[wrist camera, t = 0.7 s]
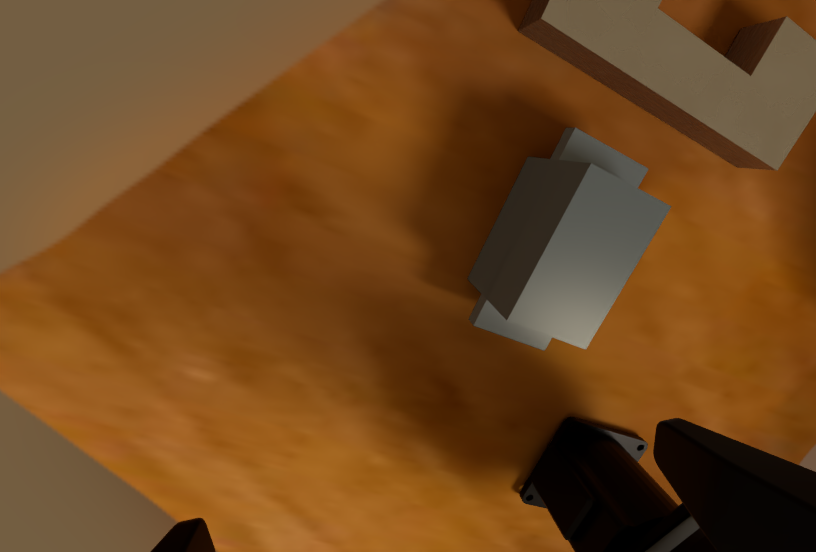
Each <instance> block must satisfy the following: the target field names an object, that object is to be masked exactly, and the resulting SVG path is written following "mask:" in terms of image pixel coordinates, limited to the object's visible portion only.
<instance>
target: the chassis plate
mask: <svg viewBox="0 0 816 552" xmlns="http://www.w3.org/2000/svg"><path fill="white" fill-rule="evenodd" d="M661 1H662V0H532V2H531V4H530V7H529V9H528V11H527V13H526V15H525V17H524V20H523V22H522V24H521V26H520V28H519V32H520V33H522V34H524V35H525V36H527V37H528V38H530V39H532V40H533V41H535V42H536V43H538V44H540V45H541V46H543V47H545V48H546V49H548V50H549V51H551V52H553V53H554V54H556V55H557V56H559V57H561V58H562V59H564V60H565V61H567V62H569V63H570V64H572V65H573V66H575V67H577V68H578V69H580V70H582V71H583V72H585V73H586V74H588V75H590V76H591V77H593V78H594V79H596V80H598V81H599V82H601V83H602V84H604V85H606V86H607V87H609V88H611V89H612V90H614V91H615V92H617V93H619V94H620V95H622V96H623V97H625V98H627V99H628V100H630V101H631V102H633V103H635V104H636V105H638V106H640V107H641V108H643V109H644V110H646V111H648V112H649V113H651V114H652V115H654V116H656V117H657V118H659V119H660V120H662V121H664V122H665V123H667V124H668V125H670V126H672V127H673V128H675V129H677V130H678V131H680V132H681V133H683V134H685V135H686V136H688V137H689V138H691V139H693V140H694V141H696V142H697V143H699V144H701V145H702V146H704V147H706V148H707V149H709V150H710V151H712V152H714V153H715V154H717V155H718V156H720V157H722V158H723V159H725V160H726V161H728V162H730V163H731V164H733V165H735V166H736V167H738V168H750V169H763V170H776V171H777V170H778V169H779V167H780V165H781V164H782V162H783V161H784V159H785V158H786V156H787V155H788V153H789V152H790V150H791V149H792V147H793V145H794V144H795V142H796V141H797V139H798V138H799V136H800V135H801V133H802V132H803V130H804V129H805V127H806V125H807V124H808V122H809V121H810V119H811V118H812V116H813V115H814V113H815V112H816V40H815V39H814V38H812V37H811V36H810V35H809V34H807V33H806V32H805V31H804V30H803V29H801V28H800V27H799V26H798V25H797V24H795V23H794V22H793V21H792V20H791V19H789V18H788V17H787V16H786V17H782V18H779V19H775V20H771V21H767V22H763V23H760V24H756V25H752V26H748V27H744V28H741V30H740V32H739V34H738V35H737V37H736V39H735V40H734V42H733V44H732V46H731V47H730V49H729V51H728V53H727V54H726V56H725V57H724V56H723V55H721V54H720V53H718V52H717V51H716V50H714V49H713V48H712V47H710V46H709V45H708V44H706V43H705V42H703V41H702V40H701V39H699V38H698V37H697V36H695V35H694V34H692V33H691V32H690V31H688V30H687V29H686V28H684V27H683V26H681V25H680V24H679V23H677V22H676V21H675V20H673V19H672V18H670V17H669V16H668V15H666V14H665V13H664V12H662V11H661V10H660V9H658V6H659V4H660V2H661Z"/></svg>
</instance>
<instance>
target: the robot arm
mask: <svg viewBox="0 0 816 552" xmlns="http://www.w3.org/2000/svg"><path fill="white" fill-rule="evenodd" d="M571 425H572V426H571ZM570 426H571V427H570ZM647 446H648V444H647V442H645V441H644V440H643V439H642V438H641V437H638V436H635V435H631V434H628V433H625V432H622V431H618V430H615V429H612V428H608V427H605V426H602V425H598V424H595V423H592V422H588V421H585V420H582V419H578V418H575V417H568V418H567V419H565V420H564V421H563V423H562V424H561V426H560V428H559V429H558V431H557V433H556V434H555V436H554V437H553V439H552V441H551V442H550V444H549V446H548V447H547V449H546V451H545V452H544V454H543V455H542V457H541V459H540V460H539V462H538V464H537V465H536V467H535V468H534V470H533V472H532V473H531V475H530V477H529V478H528V480H527V481H526V483H525V485H524V486H523V488H522V490H521V491H520V497H521V499H522V501H523V502H524V503H525V504H529V505H534V506H538V507H543V508H547V509H548V511H549V513H550V514H551V516H552V518H553V520H554V521H555V523H556V525H557V527H558V528H559V530H560V532H561V533H562V535H563V537H564V538H565V539H566V540H568V541H569V543H570V544H571V546H572V548H573V549H574V551H575V552H816V472H814V471H812V470H809V469H807V468H804V467H802V466H799V465H797V464H794V463H792V462H789V461H787V460H784V459H782V458H779V457H777V456H774V455H772V454H769V453H767V452H764V451H761V450H759V449H756V448H754V447H751V446H749V445H746V444H744V443H741V442H739V441H736V440H734V439H731V438H729V437H726V436H724V435H721V434H719V433H716V432H713V431H711V430H708V429H706V428H703V427H701V426H698V425H696V424H693V423H691V422H688V421H686V420H683V419H680V418H673V419H669V420H664V421H660V422H659V423H658V424H657V427H656V434H655V442H654V450H653V454H654V459H655V461H656V463H657V465H658V467H659V469H660V470H661V471H662V473H663V474H664V476H665V477H666V479H667V480H668V482H669V483H670V485H671V486H672V488H673V489H674V491H675V492H676V493H677V495H678V496H679V498H680V499H681V501H682V502H683V503H682V504H680V505H679V506H678V505H677V504H676V503H675V502H674V500H673V499H672V498H671V497H670V496H669V495H668V494H667V493H666V492H665V491H664V490H663V489H662V488H661V487H660V486H659V484H658V483H657V482H656V481H655V480H654V479H653V478H652V477H651V476H650V475H649V474H648V473H647V472H646V471H645V470H644V468H643V467H642V466H641V465H640V464H639V463H638V461H639V459H640V458H641V456H642V455H643V453H644V452H645V451H646V449H647ZM151 552H215V548H214V545H213V542H212V539H211V536H210V533H209V531H208V528H207V525H206V523H205V521H204V520H203V519H202V518H195V519H191V520H186V521H181V522H179V523H177V524H176V525H175V526H174V527H173V528H172V529H171V530H170V531H169V532H168V533H167V534H166V535H165V536H164V538H163V539H162V540H161V541H160V542H159V543H158V544H157V545H156V546H155V547H154V549H153V550H152V551H151Z"/></svg>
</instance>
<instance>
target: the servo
mask: <svg viewBox="0 0 816 552" xmlns="http://www.w3.org/2000/svg"><path fill="white" fill-rule="evenodd" d="M647 171H648V168H646V167H644V166H642V165H641V164H639V163H637V162H635V161H634V160H632V159H630V158H628V157H627V156H625V155H623V154H621V153H619V152H618V151H616V150H614V149H612V148H611V147H609V146H607V145H605V144H604V143H602V142H600V141H598V140H596V139H595V138H593V137H591V136H589V135H588V134H586V133H584V132H582V131H581V130H579V129H577V128H566V129H565V131H564V133H563V135H562V137H561V139H560V141H559V143H558V144H557V146H556V148H555V150H554V152H553V154H552V156H551V158H550V159H546V158H536V157H527V159H526V161H525V163H524V165H523V167H522V169H521V171H520V173H519V175H518V178H517V180H516V182H515V184H514V186H513V188H512V190H511V192H510V194H509V196H508V198H507V200H506V202H505V204H504V206H503V208H502V210H501V212H500V214H499V216H498V218H497V220H496V222H495V224H494V226H493V228H492V230H491V232H490V234H489V236H488V238H487V240H486V242H485V244H484V246H483V248H482V250H481V252H480V254H479V256H478V258H477V260H476V262H475V264H474V266H473V268H472V270H471V272H470V274H469V276H468V278H467V279H468V280H469V281H470V282H471V283H472V284H473V285H474V287H475V288H476V289H477V290H478V291H479V292H480V293H481V296H480V298H479V300H478V302H477V303H476V305H475V307H474V309H473V311H472V313H471V315H470V317H469V320H470V322H471V323H472V324H473V326H476V327H479V328H481V329H484V330H487V331H490V332H493V333H496V334H498V335H501V336H504V337H507V338H510V339H513V340H515V341H518V342H521V343H524V344H527V345H530V346H532V347H535V348H538V349H541V350H544V351H545V349H546V347H547V346H548V344H549V342H550V340H551V339H552V337H553V338H556V339H558V340H561V341H564V342H566V343H569V344H572V345H575V346H577V347H580V348H583V349H586V348H587V347H588V345H589V343H590V342H591V340H592V338H593V337H594V335H595V333H596V332H597V330H598V328H599V327H600V325H601V323H602V322H603V320H604V318H605V316H606V315H607V313H608V311H609V310H610V308H611V306H612V305H613V303H614V301H615V300H616V298H617V296H618V295H619V293H620V291H621V290H622V288H623V286H624V285H625V283H626V281H627V280H628V278H629V276H630V275H631V273H632V271H633V270H634V268H635V266H636V265H637V263H638V261H639V260H640V258H641V256H642V255H643V253H644V251H645V250H646V248H647V246H648V245H649V243H650V241H651V240H652V238H653V236H654V235H655V233H656V231H657V230H658V228H659V226H660V225H661V223H662V221H663V220H664V218H665V216H666V215H667V213H668V211H669V210H670V208H671V206H669V205H668V204H666V203H664V202H662V201H660V200H658V199H656V198H655V197H653V196H651V195H649V194H647V193H645V192H644V191H642V190H640V189H638V186H639V185H640V183H641V181H642V179H643V178H644V176H645V174H646V172H647Z"/></svg>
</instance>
